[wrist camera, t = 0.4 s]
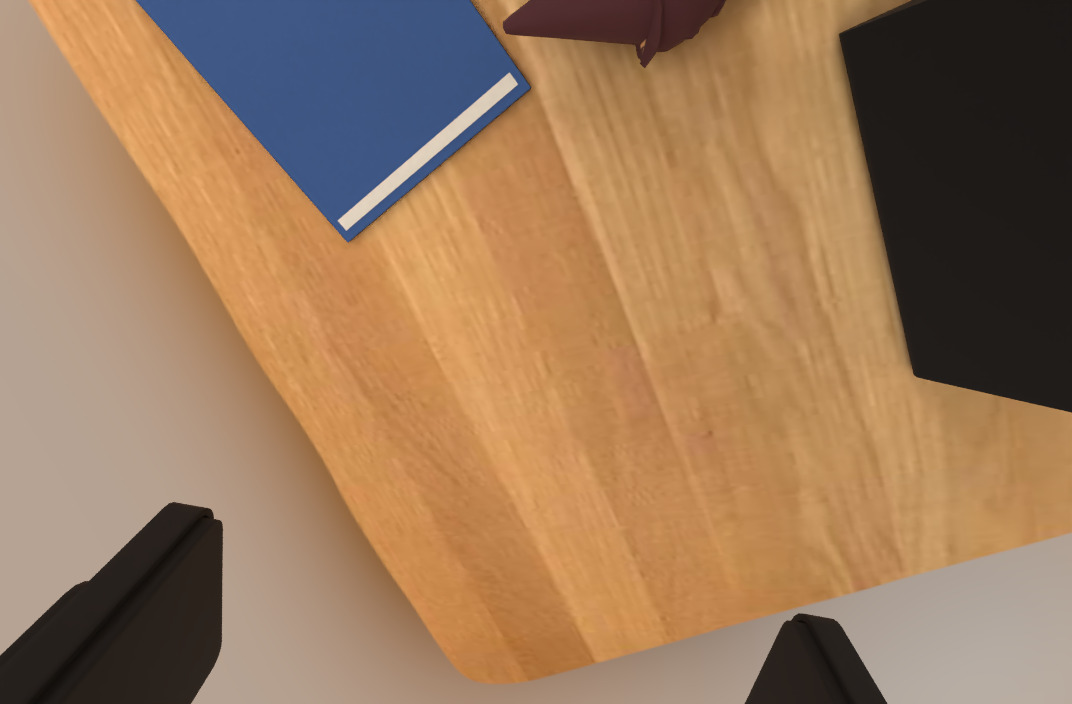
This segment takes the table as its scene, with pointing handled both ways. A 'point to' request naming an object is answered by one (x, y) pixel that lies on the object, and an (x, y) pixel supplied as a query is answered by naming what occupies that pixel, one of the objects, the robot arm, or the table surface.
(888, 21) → the device stand
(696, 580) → the table surface
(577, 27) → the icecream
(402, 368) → the table surface
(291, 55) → the cloth
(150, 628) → the robot arm
